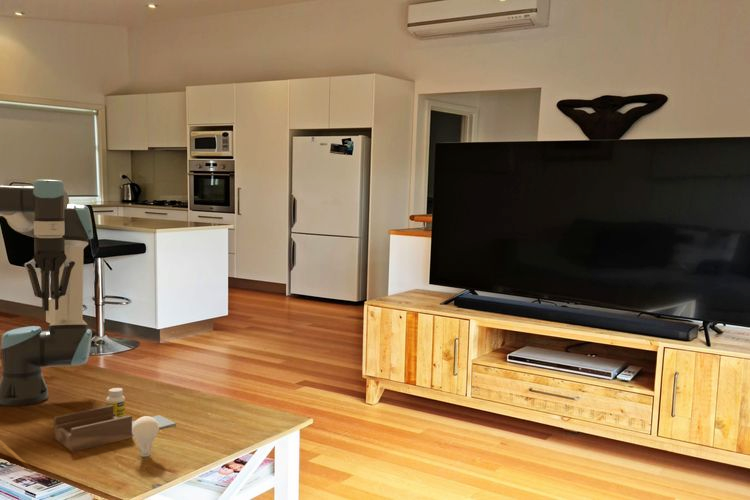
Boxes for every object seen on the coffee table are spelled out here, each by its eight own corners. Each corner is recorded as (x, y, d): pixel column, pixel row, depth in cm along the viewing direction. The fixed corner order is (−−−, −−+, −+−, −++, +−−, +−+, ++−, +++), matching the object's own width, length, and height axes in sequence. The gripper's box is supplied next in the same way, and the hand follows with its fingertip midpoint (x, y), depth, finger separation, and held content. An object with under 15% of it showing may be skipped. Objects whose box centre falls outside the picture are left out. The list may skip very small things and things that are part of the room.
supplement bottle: (118, 425, 200) (118, 392, 200) (101, 423, 201) (101, 391, 201) (128, 419, 206) (128, 387, 205) (112, 417, 207) (112, 386, 206)
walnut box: (54, 441, 186) (54, 416, 186) (111, 428, 198) (111, 405, 197) (73, 455, 177) (72, 429, 177) (132, 441, 188) (131, 416, 188)
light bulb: (135, 453, 180) (135, 412, 179) (161, 453, 181) (161, 412, 180) (128, 463, 173) (128, 421, 173) (155, 462, 174) (155, 421, 173)
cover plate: (114, 432, 196) (114, 425, 196) (159, 421, 206) (159, 415, 206) (130, 441, 190) (130, 434, 189) (175, 429, 200) (175, 423, 199)
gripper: (28, 238, 178) (30, 327, 180) (79, 236, 187) (80, 321, 189) (19, 236, 183) (20, 322, 185) (68, 235, 193) (69, 317, 195)
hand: (50, 322), depth 187 cm, fingers closed
